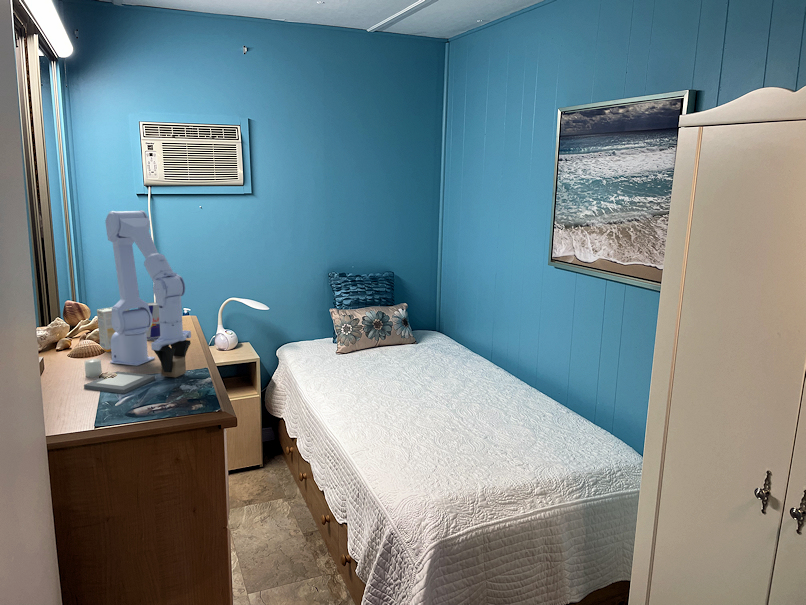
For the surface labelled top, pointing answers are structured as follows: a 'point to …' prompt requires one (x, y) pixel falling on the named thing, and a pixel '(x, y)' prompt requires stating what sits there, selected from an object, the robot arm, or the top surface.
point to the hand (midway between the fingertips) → (173, 369)
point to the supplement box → (105, 328)
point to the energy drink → (154, 323)
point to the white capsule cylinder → (93, 367)
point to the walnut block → (176, 367)
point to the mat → (120, 382)
